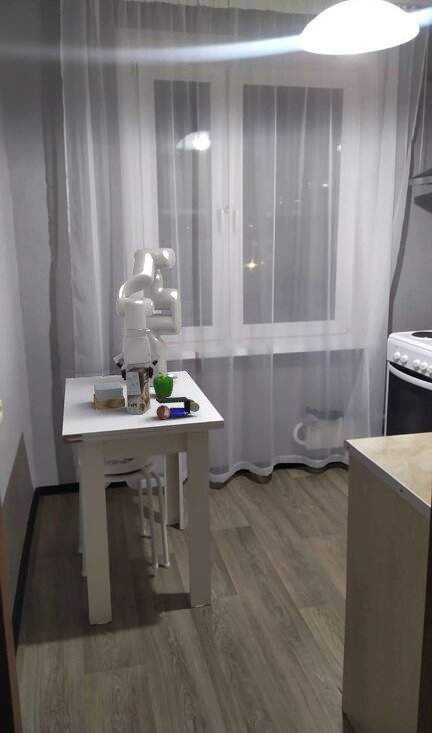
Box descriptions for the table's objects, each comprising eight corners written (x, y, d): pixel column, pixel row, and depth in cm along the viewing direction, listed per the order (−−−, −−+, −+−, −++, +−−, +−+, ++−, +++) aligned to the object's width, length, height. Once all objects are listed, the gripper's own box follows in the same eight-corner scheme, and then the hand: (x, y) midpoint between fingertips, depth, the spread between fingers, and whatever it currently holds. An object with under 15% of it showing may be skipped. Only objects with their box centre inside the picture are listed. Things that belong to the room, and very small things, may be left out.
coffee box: (143, 414, 214) (141, 372, 211) (127, 413, 215) (125, 371, 212) (151, 407, 223) (149, 366, 219) (135, 407, 224) (133, 366, 221)
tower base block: (121, 401, 234) (121, 391, 234) (125, 408, 224) (124, 398, 223) (94, 403, 231) (93, 394, 230) (96, 411, 221) (95, 401, 220)
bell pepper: (175, 397, 237) (175, 373, 235) (156, 399, 234) (155, 375, 232) (171, 392, 245) (170, 369, 243) (152, 394, 242) (151, 371, 240)
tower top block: (119, 391, 233) (119, 382, 233) (123, 397, 224) (122, 387, 223) (94, 394, 231) (93, 384, 230) (97, 400, 221) (96, 390, 220)
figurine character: (192, 415, 217) (153, 416, 211) (194, 395, 216) (155, 395, 210) (198, 420, 211) (158, 421, 205) (200, 400, 210) (160, 400, 204)
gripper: (157, 331, 219) (158, 375, 222) (111, 333, 214) (113, 378, 217) (161, 333, 212) (162, 379, 215) (113, 335, 207) (115, 382, 210)
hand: (137, 378), depth 216 cm, fingers open, 9 cm apart
